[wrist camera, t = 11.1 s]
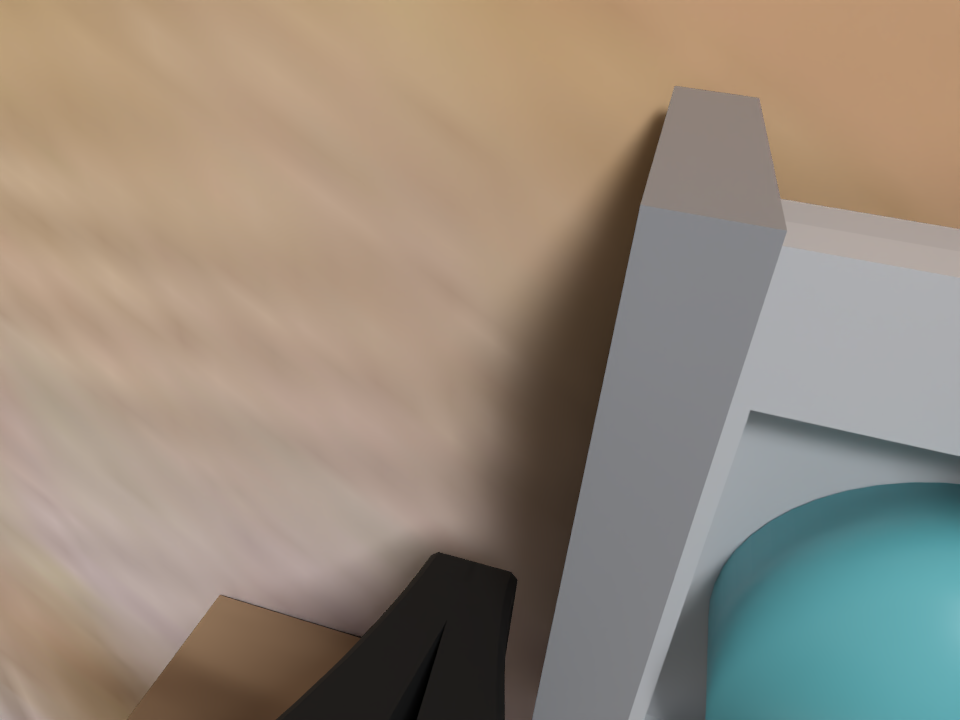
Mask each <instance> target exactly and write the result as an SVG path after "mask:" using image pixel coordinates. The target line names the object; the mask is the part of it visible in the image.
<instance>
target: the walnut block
mask: <svg viewBox="0 0 960 720" xmlns="http://www.w3.org/2000/svg"><path fill="white" fill-rule="evenodd" d="M360 639H361V638H359V637H356V636H352V635H349V634H346V633H343V632H339V631H336V630H333V629H329V628H326V627H323V626H320V625H316V624H313V623H310V622H307V621H303V620H300V619H297V618H293V617H290V616H287V615H284V614H280V613H277V612H274V611H271V610H267V609H264V608H261V607H257V606H254V605H251V604H248V603H244V602H241V601H238V600H235V599H231V598H228V597H225V596H221V595H219V597H218V598H217V599H216V601H215V602H214V603H213V605H212V606H211V607H210V609H209V610H208V611H207V613H206V614H205V616H204V617H203V618H202V620H201V621H200V622H199V624H198V625H197V626H196V628H195V629H194V630H193V632H192V633H191V634H190V636H189V637H188V638H187V640H186V641H185V642H184V644H183V645H182V646H181V648H180V649H179V650H178V652H177V653H176V654H175V656H174V657H173V658H172V660H171V661H170V662H169V664H168V665H167V666H166V668H165V669H164V670H163V672H162V673H161V674H160V676H159V677H158V679H157V680H156V681H155V683H154V684H153V685H152V687H151V688H150V689H149V691H148V692H147V693H146V695H145V696H144V697H143V699H142V700H141V701H140V703H139V704H138V705H137V707H136V708H135V709H134V711H133V712H132V713H131V715H130V716H129V717H128V719H127V720H276V719H277V718H278V717H279V716H280V715H281V714H283V713H284V712H285V711H286V710H287V709H288V708H289V707H291V706H292V705H293V704H294V703H295V702H296V701H297V700H298V699H299V698H300V697H301V696H302V695H304V694H305V693H306V692H307V691H308V690H309V689H310V688H311V687H312V686H313V685H314V684H315V683H316V682H317V681H318V680H319V679H321V678H322V677H323V676H324V675H325V674H326V673H327V672H328V671H329V670H330V669H331V668H332V667H333V666H334V665H335V664H336V663H337V662H338V661H339V660H340V659H341V658H342V657H343V656H344V655H345V654H346V653H347V652H348V651H349V650H350V649H351V648H352V647H353V646H354V645H355V644H356V643H357V642H358V641H359V640H360Z"/></svg>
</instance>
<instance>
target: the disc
mask: <svg viewBox="0 0 960 720" xmlns="http://www.w3.org/2000/svg"><path fill="white" fill-rule="evenodd" d="M705 720H960V484H953V483H923V482H910V483H898V484H886V485H876V486H871V487H865V488H860V489H854V490H849V491H845V492H841V493H838V494H834V495H831V496H827V497H824V498H820V499H817V500H815V501H812V502H810V503H807V504H805V505H802V506H800V507H797V508H795V509H792V510H790V511H789V512H787V513H785V514H783V515H781V516H779V517H778V518H776V519H774V520H772V521H770V522H769V523H767V524H766V525H765V526H763V527H762V528H760V529H759V530H758V531H756V532H755V533H754V534H752V535H751V536H750V537H749V538H748V539H747V540H746V541H745V542H744V543H742V544H741V545H740V546H739V547H738V548H737V549H736V550H735V551H734V553H733V554H732V555H731V557H730V558H729V559H728V561H727V562H726V563H725V565H724V566H723V568H722V570H721V572H720V574H719V576H718V578H717V580H716V582H715V584H714V587H713V591H712V594H711V598H710V604H709V615H708V647H707V681H706V716H705Z"/></svg>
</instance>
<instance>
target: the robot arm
mask: <svg viewBox="0 0 960 720" xmlns="http://www.w3.org/2000/svg"><path fill="white" fill-rule="evenodd" d="M516 586H517V579H516V577H515V576H514V575H513V574H512V572H509V571H505V570H502V569H498V568H494V567H491V566H487V565H483V564H480V563H476V562H473V561H469V560H465V559H462V558H458V557H454V556H451V555H447V554H444V553H440V552H438V553H436V554H433V555H431V556H430V558H429V559H428V561H427V562H426V563H425V565H424V566H423V567H422V569H421V570H420V571H419V573H418V574H417V575H416V576H415V578H414V579H413V580H412V581H411V583H410V584H409V585H408V586H407V588H406V589H405V590H404V591H403V592H402V593H401V595H400V596H399V597H398V598H397V599H396V600H395V602H394V603H393V604H392V605H391V606H390V607H389V608H388V610H387V611H386V612H385V613H384V614H383V615H382V616H381V617H380V619H379V620H378V621H377V622H376V623H375V624H374V625H373V626H372V627H371V628H370V629H369V630H368V631H367V632H366V633H365V634H364V635H363V637H362V638H361V639H360V640H359V641H358V642H357V643H356V644H355V645H354V646H353V647H352V648H351V649H350V650H349V651H348V652H347V653H346V654H345V655H344V656H343V657H342V658H341V659H340V660H339V661H338V662H337V663H336V664H335V665H334V666H333V667H332V668H331V669H330V670H329V671H328V672H327V673H326V674H325V675H324V676H323V677H322V678H321V679H319V680H318V681H317V682H316V683H315V684H314V685H313V686H312V687H311V688H310V689H309V690H308V691H307V692H306V693H305V694H304V695H302V696H301V697H300V698H299V699H298V700H297V701H296V702H295V703H294V704H293V705H292V706H291V707H289V708H288V709H287V710H286V711H285V712H284V713H283V714H281V715H280V716H279V717H278V718H277V719H276V720H505V705H504V674H505V654H506V648H507V642H508V636H509V630H510V623H511V617H512V611H513V605H514V599H515V593H516Z"/></svg>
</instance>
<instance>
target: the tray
mask: <svg viewBox="0 0 960 720" xmlns="http://www.w3.org/2000/svg"><path fill="white" fill-rule="evenodd" d="M910 482H923V483H953V484H960V229H956V228H950V227H944V226H938V225H933V224H927V223H921V222H915V221H909V220H903V219H897V218H891V217H885V216H879V215H873V214H867V213H862V212H856V211H850V210H844V209H838V208H832V207H826V206H820V205H814V204H808V203H802V202H796V201H790V200H785V199H780V194H779V190H778V185H777V180H776V175H775V171H774V166H773V161H772V156H771V152H770V147H769V142H768V138H767V133H766V128H765V123H764V119H763V114H762V109H761V104H760V100H759V98H755V97H748V96H742V95H735V94H728V93H721V92H714V91H707V90H700V89H693V88H687V87H680V86H675V87H674V90H673V94H672V97H671V100H670V104H669V107H668V111H667V114H666V118H665V121H664V125H663V128H662V132H661V135H660V139H659V142H658V146H657V149H656V152H655V156H654V159H653V163H652V166H651V170H650V173H649V177H648V180H647V184H646V187H645V191H644V194H643V198H642V201H641V205H640V209H639V214H638V219H637V223H636V228H635V233H634V238H633V242H632V247H631V252H630V257H629V261H628V266H627V271H626V276H625V280H624V285H623V290H622V295H621V299H620V304H619V309H618V314H617V318H616V323H615V328H614V333H613V337H612V342H611V347H610V352H609V356H608V361H607V366H606V371H605V375H604V380H603V385H602V390H601V394H600V399H599V404H598V409H597V414H596V418H595V423H594V428H593V433H592V437H591V442H590V447H589V452H588V456H587V461H586V466H585V471H584V475H583V480H582V485H581V490H580V494H579V499H578V504H577V509H576V513H575V518H574V523H573V528H572V532H571V537H570V542H569V547H568V551H567V556H566V561H565V566H564V570H563V575H562V580H561V585H560V589H559V594H558V599H557V604H556V608H555V613H554V618H553V623H552V627H551V632H550V637H549V642H548V646H547V651H546V656H545V661H544V665H543V670H542V675H541V680H540V684H539V689H538V694H537V699H536V703H535V708H534V713H533V718H532V720H705V716H706V681H707V647H708V615H709V604H710V598H711V594H712V591H713V587H714V584H715V582H716V580H717V578H718V576H719V574H720V572H721V570H722V568H723V566H724V565H725V563H726V562H727V561H728V559H729V558H730V557H731V555H732V554H733V553H734V551H735V550H736V549H737V548H738V547H739V546H740V545H741V544H742V543H744V542H745V541H746V540H747V539H748V538H749V537H750V536H751V535H752V534H754V533H755V532H756V531H758V530H759V529H760V528H762V527H763V526H765V525H766V524H767V523H769V522H770V521H772V520H774V519H776V518H778V517H779V516H781V515H783V514H785V513H787V512H789V511H790V510H792V509H795V508H797V507H800V506H802V505H805V504H807V503H810V502H812V501H815V500H817V499H820V498H824V497H827V496H831V495H834V494H838V493H841V492H845V491H849V490H854V489H860V488H865V487H871V486H876V485H886V484H898V483H910Z"/></svg>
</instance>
